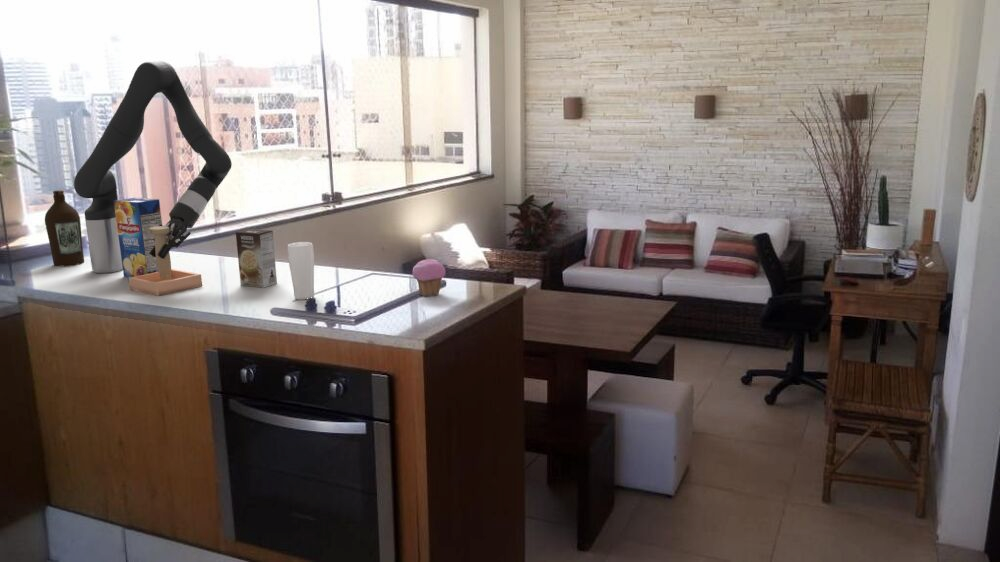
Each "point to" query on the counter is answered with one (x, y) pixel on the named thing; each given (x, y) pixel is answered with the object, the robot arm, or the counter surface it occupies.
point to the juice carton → (137, 234)
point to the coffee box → (256, 257)
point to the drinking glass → (302, 269)
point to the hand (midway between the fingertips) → (156, 256)
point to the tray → (165, 282)
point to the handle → (160, 240)
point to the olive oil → (64, 232)
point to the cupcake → (429, 276)
